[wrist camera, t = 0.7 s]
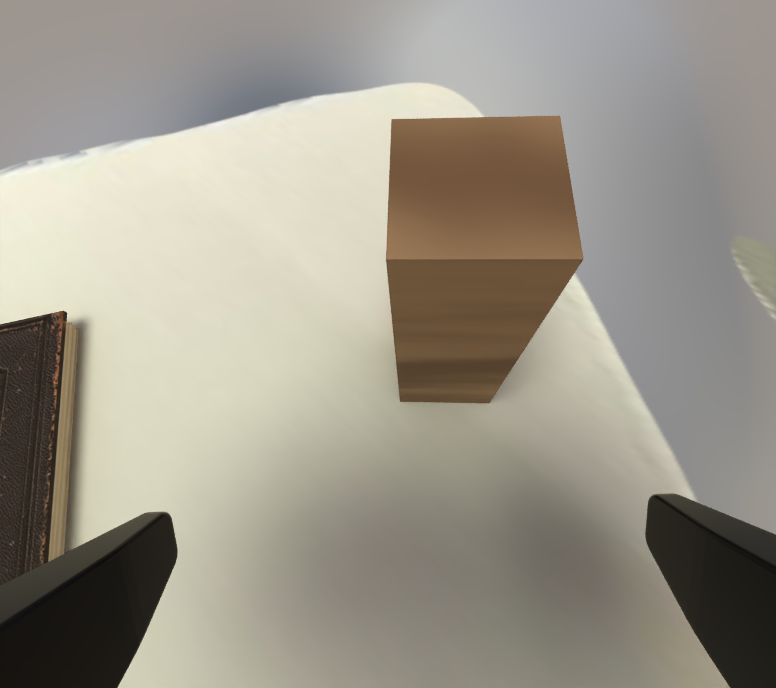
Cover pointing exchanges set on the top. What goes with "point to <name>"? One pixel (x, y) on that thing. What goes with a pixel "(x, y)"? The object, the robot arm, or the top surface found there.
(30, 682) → the robot arm
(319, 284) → the top surface
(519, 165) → the walnut block
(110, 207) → the top surface
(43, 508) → the hardcover book
